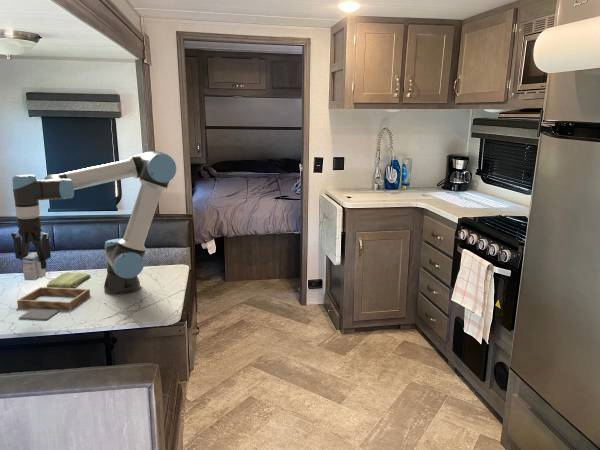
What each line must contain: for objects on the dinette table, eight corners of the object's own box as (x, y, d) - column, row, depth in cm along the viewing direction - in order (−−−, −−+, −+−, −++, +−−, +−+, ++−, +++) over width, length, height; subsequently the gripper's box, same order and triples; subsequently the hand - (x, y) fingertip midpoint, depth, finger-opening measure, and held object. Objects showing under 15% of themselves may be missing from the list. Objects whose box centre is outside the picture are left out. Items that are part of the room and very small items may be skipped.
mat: (60, 310, 178) (60, 309, 178) (47, 320, 169) (46, 318, 169) (34, 309, 178) (34, 307, 178) (19, 319, 170) (19, 317, 169)
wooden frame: (90, 295, 193) (89, 289, 192) (70, 309, 178) (70, 302, 178) (41, 293, 194) (40, 287, 194) (17, 307, 180) (17, 300, 179)
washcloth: (92, 277, 216) (91, 271, 216) (72, 290, 199) (72, 283, 199) (65, 276, 217) (65, 270, 216) (44, 289, 200) (43, 283, 199)
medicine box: (34, 273, 174) (32, 252, 172) (46, 273, 174) (44, 252, 172) (24, 280, 166) (21, 258, 164) (36, 280, 166) (33, 258, 164)
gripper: (57, 215, 168) (63, 274, 173) (12, 213, 169) (19, 272, 174) (45, 219, 161) (52, 280, 166) (-3, 218, 161) (6, 278, 167)
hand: (35, 276), depth 170 cm, fingers closed on medicine box, 5 cm apart
